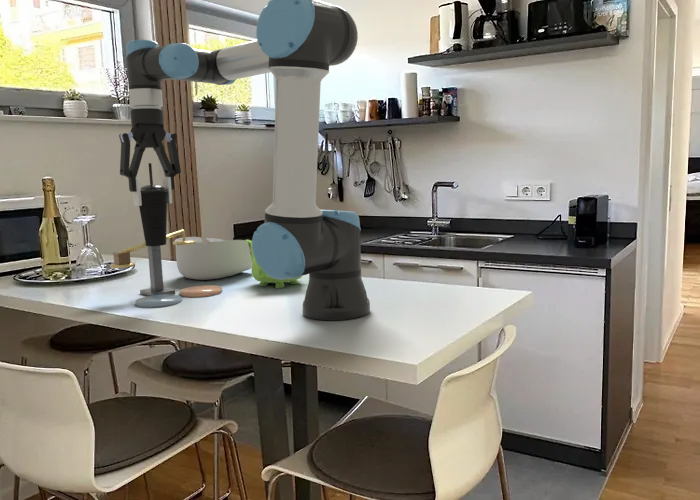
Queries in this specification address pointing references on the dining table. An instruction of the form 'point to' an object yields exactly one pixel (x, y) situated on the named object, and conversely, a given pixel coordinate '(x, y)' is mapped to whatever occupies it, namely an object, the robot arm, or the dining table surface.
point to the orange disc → (200, 291)
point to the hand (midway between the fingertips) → (153, 204)
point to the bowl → (212, 258)
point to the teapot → (265, 278)
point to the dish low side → (158, 300)
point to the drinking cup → (154, 212)
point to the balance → (150, 263)
